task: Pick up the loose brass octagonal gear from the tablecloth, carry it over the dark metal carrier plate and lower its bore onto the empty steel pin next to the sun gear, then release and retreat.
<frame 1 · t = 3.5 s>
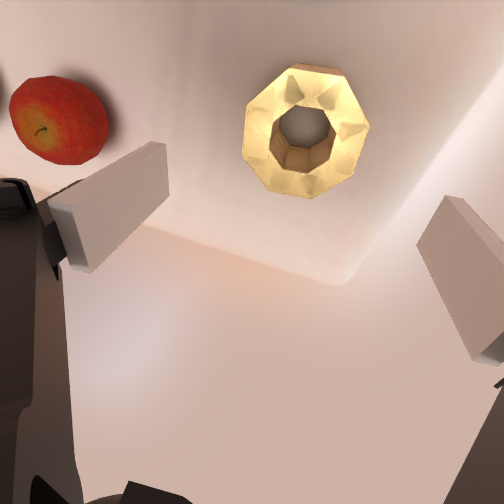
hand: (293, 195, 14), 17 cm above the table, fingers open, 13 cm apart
apple: (91, 114, 31), on the table
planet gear: (305, 121, 27), on the table
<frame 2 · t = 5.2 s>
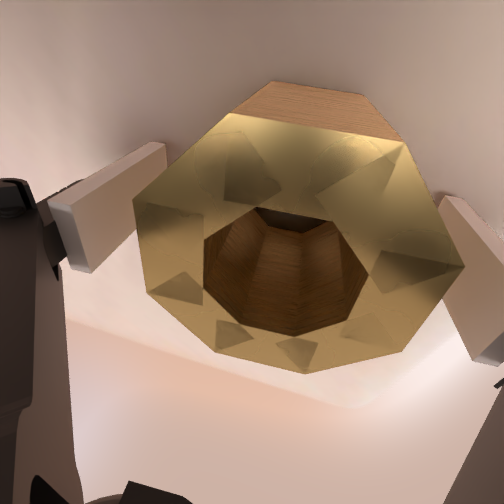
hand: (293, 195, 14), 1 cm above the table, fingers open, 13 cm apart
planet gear: (294, 189, 14), on the table
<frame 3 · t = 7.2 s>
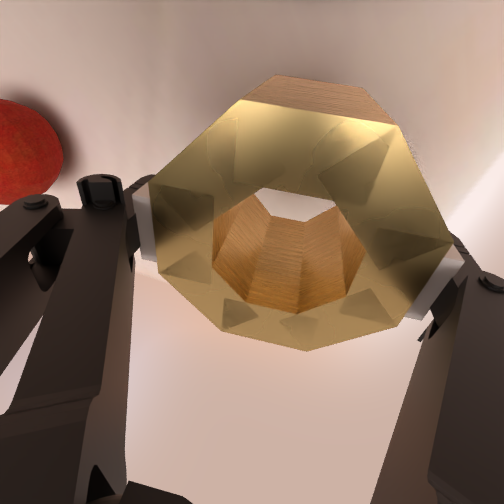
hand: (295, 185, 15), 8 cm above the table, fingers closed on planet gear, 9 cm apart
apple: (43, 140, 26), on the table
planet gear: (296, 179, 15), point 8 cm above the table, touching gripper
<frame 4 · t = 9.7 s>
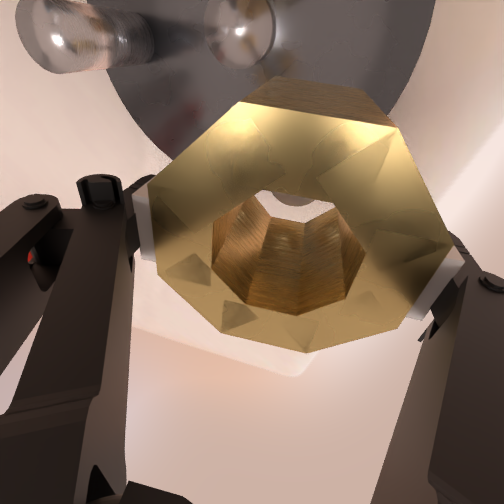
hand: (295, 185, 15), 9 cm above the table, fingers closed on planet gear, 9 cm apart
carrier: (248, 30, 19), on the table
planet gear: (296, 180, 15), point 9 cm above the table, touching gripper
when the fingers open (3 cm above the table, at t = 12.3 s): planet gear drops 2 cm, resting on carrier.
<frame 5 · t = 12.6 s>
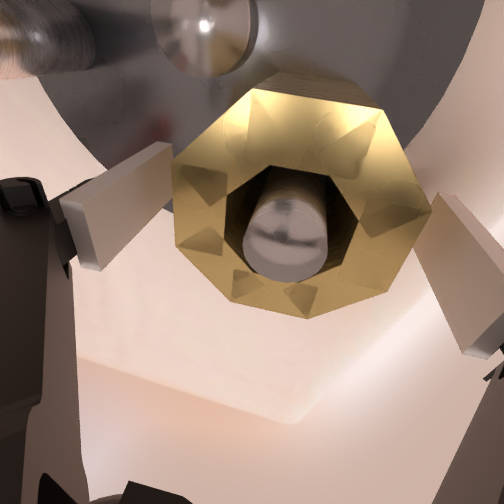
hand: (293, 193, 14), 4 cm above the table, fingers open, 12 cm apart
carrier: (221, 25, 14), on the table
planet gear: (297, 168, 16), point 1 cm above the table, touching carrier
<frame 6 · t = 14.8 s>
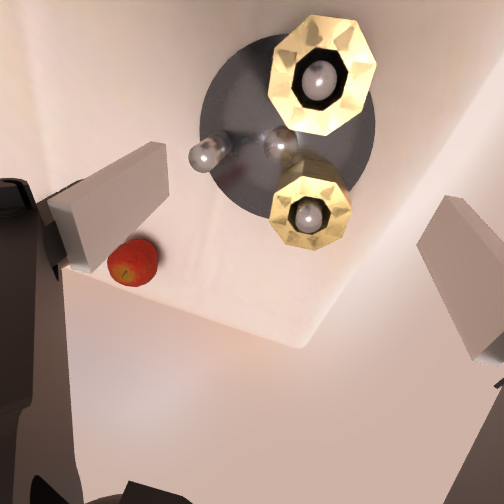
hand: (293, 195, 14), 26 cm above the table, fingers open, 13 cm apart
apple: (146, 250, 52), on the table
seated gear: (319, 77, 32), resting on carrier
carrier: (282, 141, 37), on the table
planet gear: (310, 193, 39), point 1 cm above the table, touching carrier
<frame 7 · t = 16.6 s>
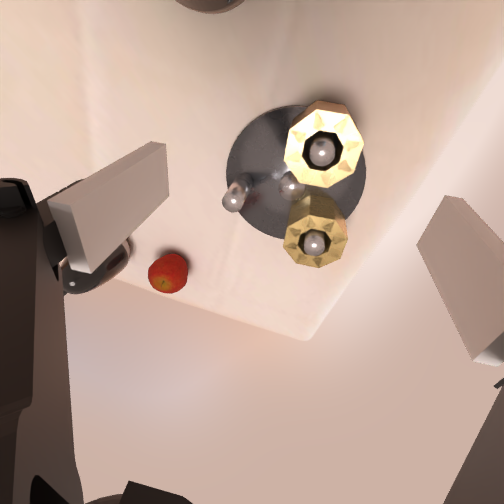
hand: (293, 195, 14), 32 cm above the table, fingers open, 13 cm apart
pump dispenser: (115, 241, 62), on the table
apple: (177, 261, 62), on the table
seated gear: (321, 137, 41), resting on carrier
carrier: (293, 180, 46), on the table
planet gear: (314, 220, 49), point 1 cm above the table, touching carrier
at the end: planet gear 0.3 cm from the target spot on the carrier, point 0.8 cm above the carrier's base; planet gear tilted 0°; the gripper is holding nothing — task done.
